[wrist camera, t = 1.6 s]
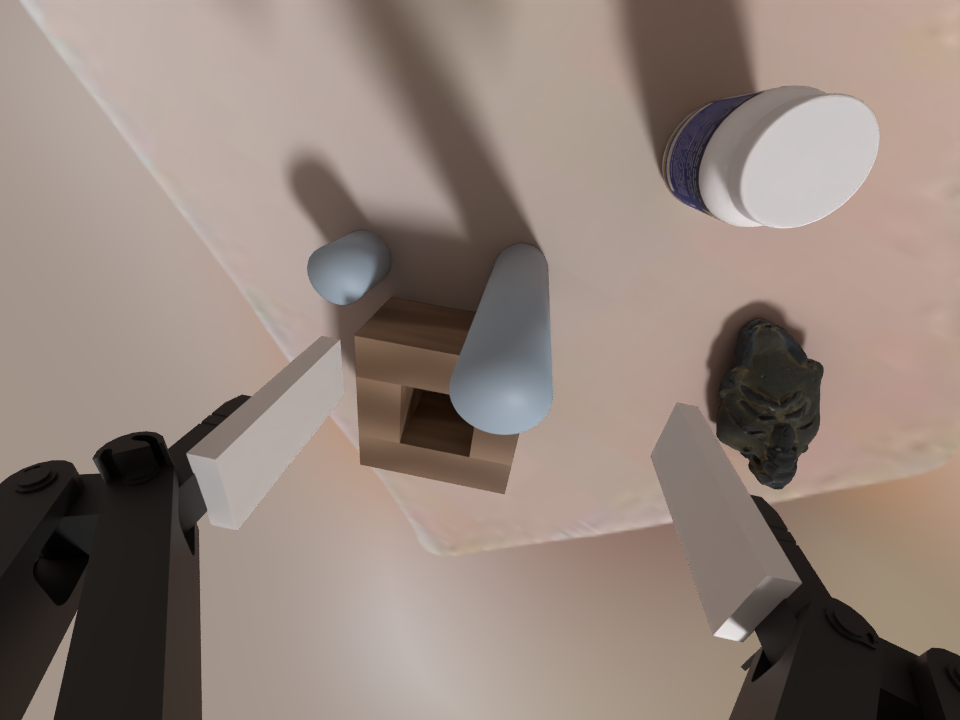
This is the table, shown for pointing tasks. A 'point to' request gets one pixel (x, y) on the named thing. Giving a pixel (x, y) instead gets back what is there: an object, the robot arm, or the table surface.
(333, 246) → the grey rounded cylinder
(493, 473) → the sleeve block
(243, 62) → the table surface
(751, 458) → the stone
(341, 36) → the table surface
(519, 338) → the long dowel
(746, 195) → the pill bottle
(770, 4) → the table surface
